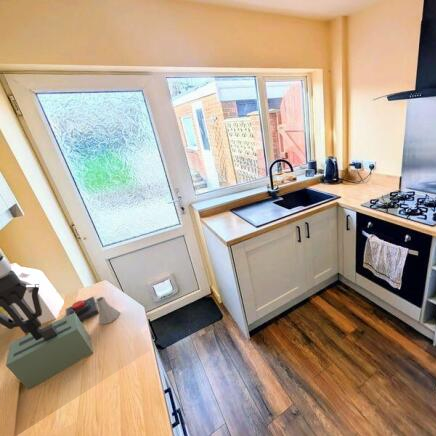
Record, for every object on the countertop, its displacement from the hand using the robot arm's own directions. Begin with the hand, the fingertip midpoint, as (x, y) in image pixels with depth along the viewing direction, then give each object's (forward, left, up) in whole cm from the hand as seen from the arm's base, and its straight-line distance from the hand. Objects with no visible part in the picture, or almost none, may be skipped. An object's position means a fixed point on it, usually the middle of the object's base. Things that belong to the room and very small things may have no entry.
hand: (39, 336), depth 78 cm
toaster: (-3, 0, -14) cm, 14 cm away
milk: (-39, -5, -14) cm, 41 cm away
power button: (-26, +8, -10) cm, 29 cm away
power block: (-26, +8, -14) cm, 30 cm away
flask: (-13, +16, -14) cm, 25 cm away
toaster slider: (0, +2, -2) cm, 3 cm away
